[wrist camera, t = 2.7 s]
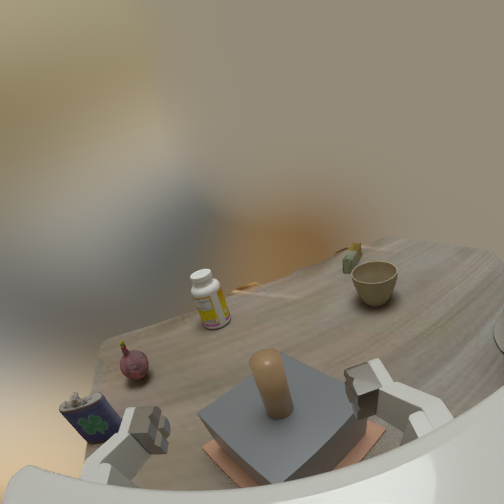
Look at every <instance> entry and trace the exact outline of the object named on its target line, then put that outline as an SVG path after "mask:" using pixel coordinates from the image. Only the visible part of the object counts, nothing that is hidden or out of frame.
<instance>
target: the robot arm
mask: <svg viewBox="0 0 504 504" xmlns="http://www.w3.org/2000/svg"><path fill="white" fill-rule="evenodd" d="M494 336H495V340H496V343H497V345H498V346H499V348H500V349H501V350H502V351H503V352H504V310H503V312H502V314H501V316H500V318H499V320H498V321H497V323H496V325H495V328H494ZM344 376H345V378H346V381H345V390H346V394H347V397H348V400H349V402H350V403H352V410H353V412H354V414H355V417H356V419H357V421H358V420H361V419H364V418H367V417H370V416H373V415H376V416H378V417H380V418H381V419H383V420H384V421H386V422H387V423H389V424H391V425H392V426H394V427H396V428H397V429H399V430H400V431H402V432H404V435H403V438H402V440H401V443H400V447H398V448H395V449H393V450H390V451H388V452H386V453H383V454H381V455H378V456H375V457H373V458H370V459H367V460H364V461H362V462H359V463H356V464H353V465H350V466H346V467H343V468H340V469H337V470H333V471H329V472H326V473H322V474H318V475H314V476H310V477H306V478H301V479H297V480H292V481H287V482H281V483H276V484H269V485H263V486H255V487H247V488H238V489H226V490H208V491H167V490H150V489H139V487H138V486H137V485H135V484H134V483H133V482H131V480H132V479H133V478H134V476H135V475H136V474H137V472H138V471H139V470H140V469H141V467H142V466H143V465H144V463H145V462H146V461H147V460H148V458H149V457H150V456H151V455H150V454H167V449H168V441H167V440H166V439H167V438H168V436H169V435H170V424H169V421H168V419H167V418H166V417H165V416H163V415H161V410H160V409H159V407H158V406H150V407H128V408H127V409H126V410H125V413H124V416H123V419H122V422H121V425H120V428H119V432H118V433H115V434H114V435H113V436H112V437H111V438H110V439H108V440H107V441H106V442H105V443H104V444H103V445H102V446H101V447H100V448H98V449H97V450H96V451H95V452H94V453H93V454H92V455H91V456H89V457H88V458H87V459H86V461H85V464H84V467H83V470H82V473H81V476H80V479H78V478H74V477H70V476H66V475H62V474H58V473H55V472H51V471H48V470H44V469H41V468H38V467H36V466H32V465H27V466H25V467H24V468H22V469H21V470H20V471H18V472H17V473H16V474H15V475H14V476H12V478H11V479H10V481H9V483H8V485H7V489H6V492H5V495H4V498H3V502H2V504H504V385H503V386H502V387H500V388H499V389H498V390H497V391H495V392H494V393H492V394H491V395H490V396H488V397H487V398H485V399H484V400H483V401H481V402H480V403H478V404H477V405H475V406H474V407H472V408H471V409H469V410H468V411H466V412H464V413H463V414H461V415H459V416H458V417H456V418H455V419H454V418H453V416H452V415H451V413H450V412H449V410H448V409H447V407H446V406H445V405H444V403H443V402H442V400H441V399H439V398H437V397H434V396H432V395H429V394H427V393H424V392H422V391H419V390H417V389H414V388H412V387H409V386H407V385H405V384H402V383H400V382H395V383H394V381H393V380H392V378H391V377H390V375H389V373H388V372H387V370H386V369H385V367H384V365H383V364H382V362H381V361H380V359H378V358H376V359H373V360H371V361H368V362H365V363H362V364H359V365H356V366H353V367H350V368H347V369H345V370H344Z"/></svg>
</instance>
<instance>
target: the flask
mask: <svg viewBox="0 0 504 504" xmlns="http://www.w3.org/2000/svg"><path fill="white" fill-rule="evenodd" d="M73 394H75V395H72V396H71V398H70V400H71V401H69V402H68V401H65V402H64V403H62V404H61V405H60V407H59V411H60V412H61V413H62V415H63V416H64V417H65V418H66V419H67V420H68V422H69V423H70V424H71V425H72V426H73V427H74V428H75V429H76V431H77V432H78V433H79V434H80V435H81V436H82V437H83V438H84V439H85V440H86V441H87V442H88V443H89V444H100V443H104V442H106V441H107V440H108V439H110V438H111V437H112V436H113V435H114V434H115V433H118V432H119V428H120V425H121V422H122V419H121V418H120V416H119V415H118V414H117V413H116V411H115V410H114V409H113V408H112V407H111V405H110V404H109V403H108V401H107V400H106V399H105V397H104V395H102V394H101V393H100V392H96V393H93V394H91V395H89V396H87V397H84V398H82V399H80V398H79V397H78V393H77V392H74V393H73Z"/></svg>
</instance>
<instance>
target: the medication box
mask: <svg viewBox="0 0 504 504" xmlns="http://www.w3.org/2000/svg"><path fill="white" fill-rule="evenodd" d="M360 256H361V243H352V245H351V247H350V249H349V250H348V252H347V254H346V256H345V257H344V259H343V273H348V274H349V273H351V272H352V270H353V269H354V268H355V267H356V265H357V262H358V260H359V258H360Z"/></svg>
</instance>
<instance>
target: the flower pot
mask: <svg viewBox="0 0 504 504" xmlns="http://www.w3.org/2000/svg"><path fill="white" fill-rule="evenodd" d="M397 274H398V269H397V267H396V266H395V265H394V264H392V263H389V262H385V261H371V262H366V263H362V264H360V265H358V266H356V267H355V268H354V269H353V270H352V272H351V276H352V280H353V283H354V286H355V288H356V290H357V292H358V294H359V296H360V297H361V298H362V300H363V301H364V302H365V303H366V304H367V305H369V306H374V307H376V306H381V305H383V304H385V303H386V302H387V300H388V299H389V297H390V296H391V294H392V292H393V289H394V287H395V284H396V280H397Z"/></svg>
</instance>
